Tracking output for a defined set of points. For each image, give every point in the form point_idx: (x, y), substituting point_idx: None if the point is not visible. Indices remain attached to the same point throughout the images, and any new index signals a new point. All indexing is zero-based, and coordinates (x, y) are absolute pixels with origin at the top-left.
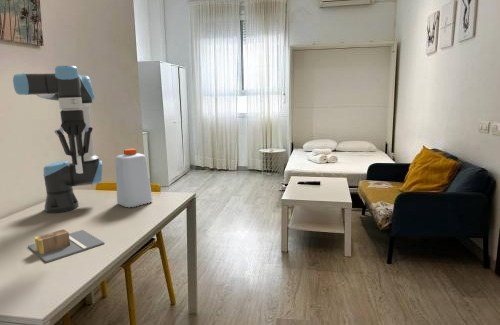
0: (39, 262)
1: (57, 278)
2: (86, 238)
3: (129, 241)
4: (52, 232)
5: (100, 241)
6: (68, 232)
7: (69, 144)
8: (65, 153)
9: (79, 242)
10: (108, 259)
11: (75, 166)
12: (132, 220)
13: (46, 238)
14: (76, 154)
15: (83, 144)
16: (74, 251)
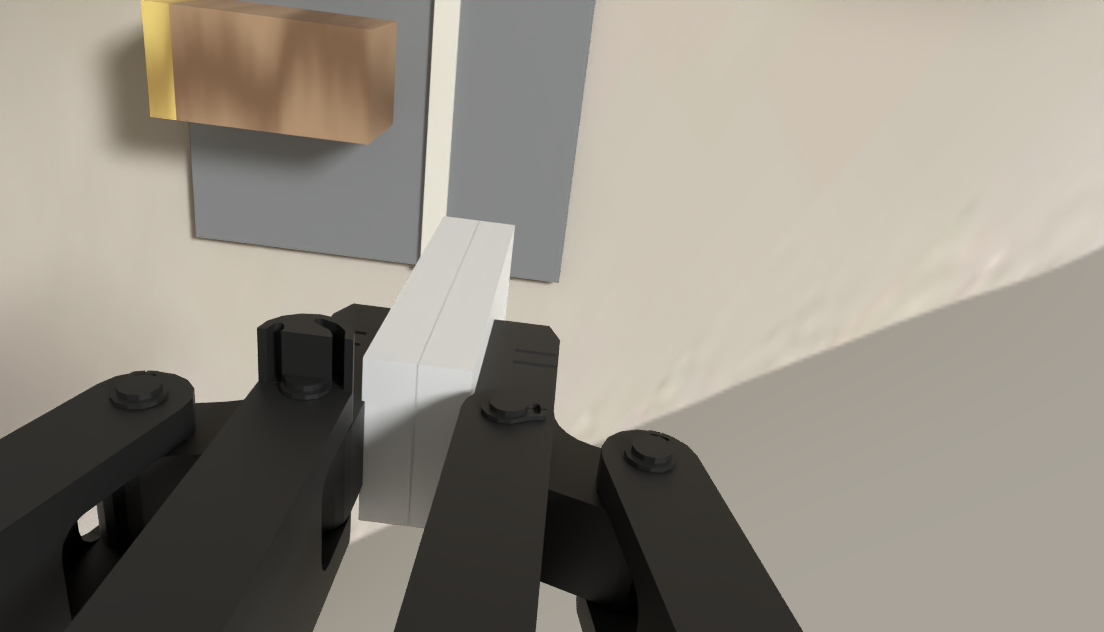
0: (173, 189)
1: None
2: (524, 106)
3: (673, 378)
4: (280, 23)
5: (552, 248)
6: (367, 144)
7: (96, 599)
8: (90, 398)
9: (449, 150)
10: None
11: (420, 263)
12: (1007, 31)
13: (206, 118)
14: (348, 543)
15: (659, 629)
16: (366, 251)
